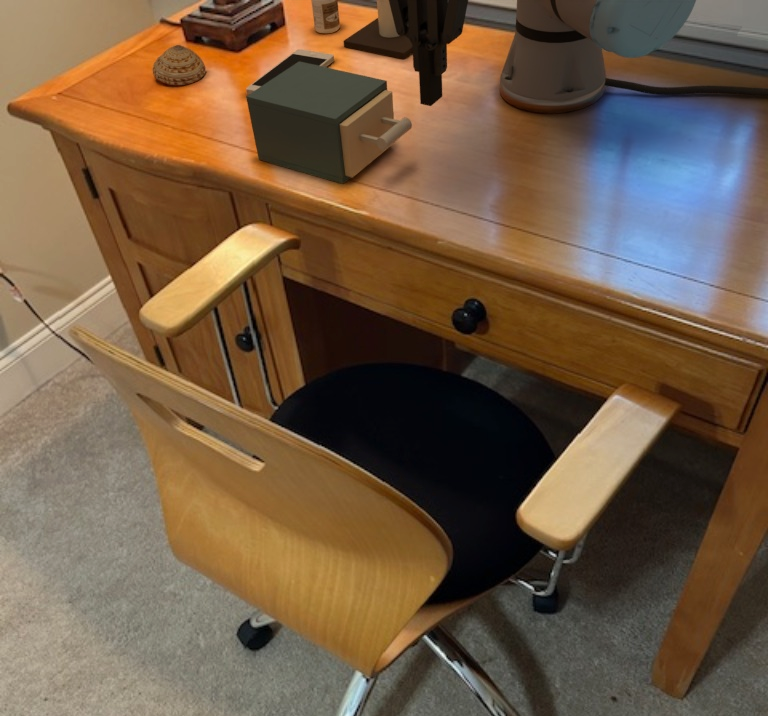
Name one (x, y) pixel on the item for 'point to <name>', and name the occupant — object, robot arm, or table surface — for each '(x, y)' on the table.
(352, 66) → the table surface
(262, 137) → the cabinet
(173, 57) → the seashell
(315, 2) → the pill bottle
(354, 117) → the drawer
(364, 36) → the coaster
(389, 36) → the spice pot
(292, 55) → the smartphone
